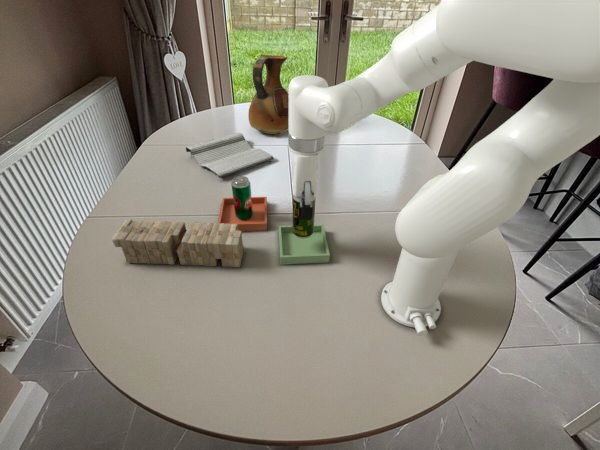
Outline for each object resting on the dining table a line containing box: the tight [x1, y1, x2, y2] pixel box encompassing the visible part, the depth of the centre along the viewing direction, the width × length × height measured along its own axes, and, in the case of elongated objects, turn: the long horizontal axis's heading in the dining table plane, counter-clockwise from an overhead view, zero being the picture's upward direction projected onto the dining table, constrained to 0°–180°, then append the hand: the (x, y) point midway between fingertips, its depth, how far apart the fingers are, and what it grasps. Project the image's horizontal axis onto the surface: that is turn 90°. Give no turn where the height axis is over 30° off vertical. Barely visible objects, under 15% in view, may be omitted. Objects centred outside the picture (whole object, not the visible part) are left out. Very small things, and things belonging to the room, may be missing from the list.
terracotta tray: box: [217, 196, 268, 232], centre depth 96 cm, size 13×13×2 cm
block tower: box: [111, 218, 244, 268], centre depth 82 cm, size 8×8×29 cm
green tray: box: [278, 224, 331, 265], centre depth 87 cm, size 12×12×2 cm
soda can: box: [231, 175, 253, 220], centre depth 93 cm, size 5×5×12 cm
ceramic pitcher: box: [248, 54, 289, 135], centre depth 138 cm, size 20×20×30 cm
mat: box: [185, 132, 275, 180], centre depth 123 cm, size 23×24×5 cm
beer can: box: [291, 191, 317, 239], centre depth 81 cm, size 5×5×12 cm
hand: (303, 210), depth 80 cm, fingers closed on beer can, 5 cm apart
